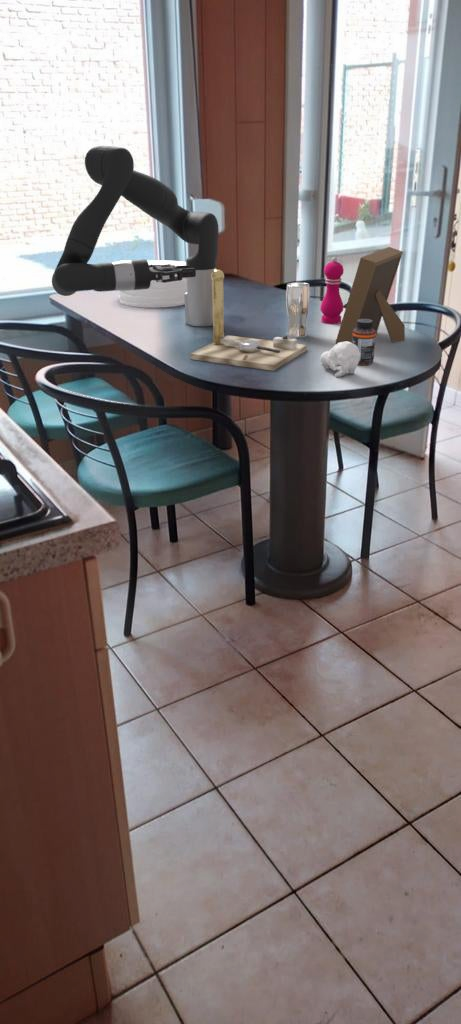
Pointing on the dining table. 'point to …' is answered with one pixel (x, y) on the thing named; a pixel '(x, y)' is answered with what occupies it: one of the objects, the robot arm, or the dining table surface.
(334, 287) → the pepper mill
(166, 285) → the plate stack
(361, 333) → the supplement bottle
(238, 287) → the dining table surface
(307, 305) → the beer glass
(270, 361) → the stand
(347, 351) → the white animal figurine
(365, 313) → the photo frame
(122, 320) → the dining table surface
